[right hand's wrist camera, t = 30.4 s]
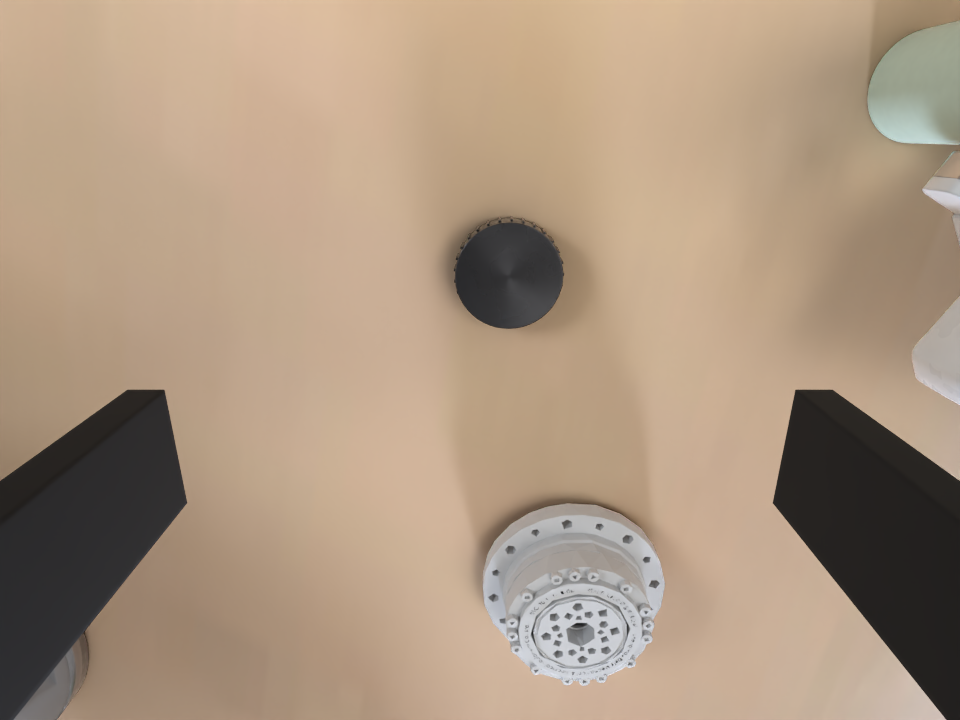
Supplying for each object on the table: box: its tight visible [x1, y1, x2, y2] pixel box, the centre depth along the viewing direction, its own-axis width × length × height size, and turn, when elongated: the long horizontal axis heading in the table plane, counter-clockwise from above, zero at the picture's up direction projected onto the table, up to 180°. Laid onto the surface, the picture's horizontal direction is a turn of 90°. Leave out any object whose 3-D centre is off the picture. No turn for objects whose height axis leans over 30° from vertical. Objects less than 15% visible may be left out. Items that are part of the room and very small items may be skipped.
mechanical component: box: [483, 503, 665, 686], centre depth 32 cm, size 10×4×10 cm
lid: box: [454, 216, 564, 329], centre depth 28 cm, size 5×5×2 cm
